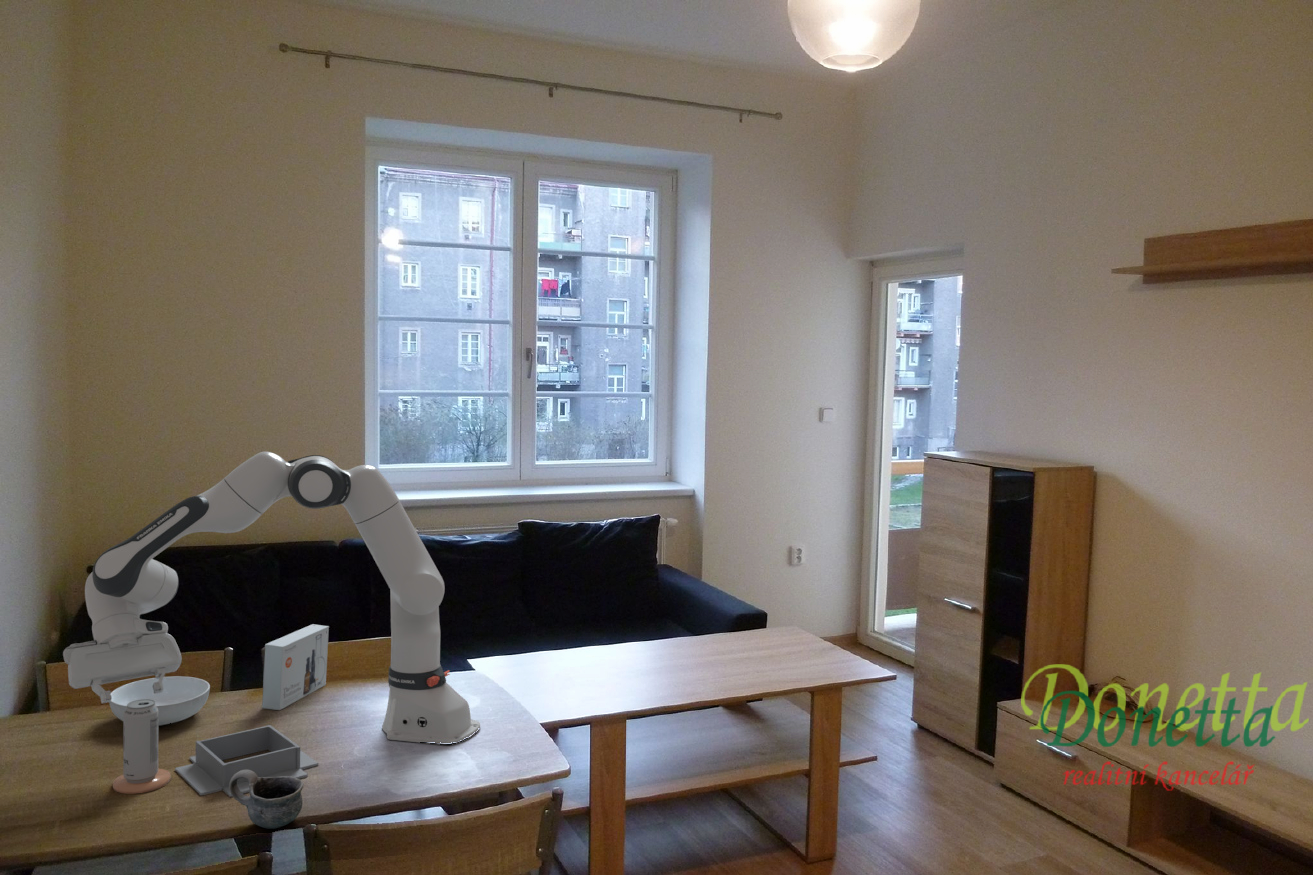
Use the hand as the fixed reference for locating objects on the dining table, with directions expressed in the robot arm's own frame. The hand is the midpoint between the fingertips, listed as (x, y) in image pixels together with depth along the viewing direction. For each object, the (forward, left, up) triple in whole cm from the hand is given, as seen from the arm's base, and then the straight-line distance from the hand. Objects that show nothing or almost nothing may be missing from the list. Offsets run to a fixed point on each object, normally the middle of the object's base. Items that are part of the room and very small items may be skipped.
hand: (133, 696), depth 192 cm
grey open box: (-18, -11, -16) cm, 27 cm away
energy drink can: (-5, +2, -15) cm, 16 cm away
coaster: (-5, +3, -16) cm, 17 cm away
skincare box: (+3, -50, -16) cm, 53 cm away
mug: (-39, +7, -16) cm, 43 cm away
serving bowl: (+20, -25, -16) cm, 35 cm away
